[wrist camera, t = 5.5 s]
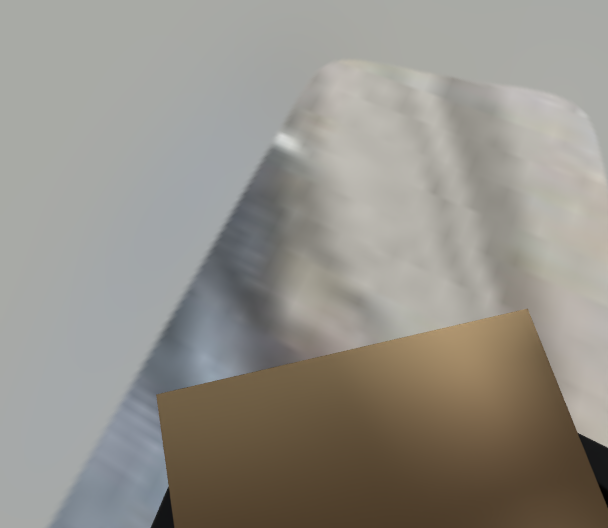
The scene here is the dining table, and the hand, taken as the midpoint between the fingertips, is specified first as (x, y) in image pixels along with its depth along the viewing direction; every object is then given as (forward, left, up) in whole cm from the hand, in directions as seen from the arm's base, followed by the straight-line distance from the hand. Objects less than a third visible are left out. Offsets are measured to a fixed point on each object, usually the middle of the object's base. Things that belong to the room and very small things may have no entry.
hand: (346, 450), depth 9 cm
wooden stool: (-1, 0, -8) cm, 8 cm away
